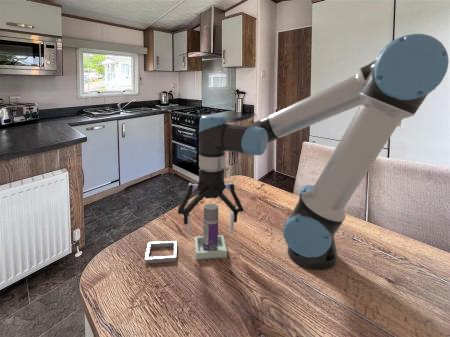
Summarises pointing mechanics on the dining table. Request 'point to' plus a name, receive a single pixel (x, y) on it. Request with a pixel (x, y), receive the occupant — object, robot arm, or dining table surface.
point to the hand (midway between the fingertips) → (210, 232)
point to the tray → (214, 254)
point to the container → (210, 227)
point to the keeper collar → (164, 258)
